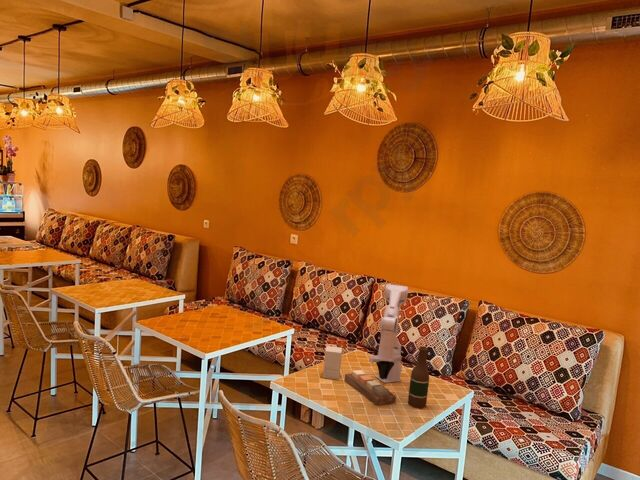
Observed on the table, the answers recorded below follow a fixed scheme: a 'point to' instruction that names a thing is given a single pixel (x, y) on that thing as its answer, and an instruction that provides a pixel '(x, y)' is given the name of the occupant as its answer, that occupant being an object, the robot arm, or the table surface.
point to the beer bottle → (419, 381)
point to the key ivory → (358, 374)
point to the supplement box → (332, 362)
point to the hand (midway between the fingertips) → (383, 378)
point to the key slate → (381, 391)
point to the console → (369, 392)
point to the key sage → (372, 384)
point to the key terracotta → (365, 379)
